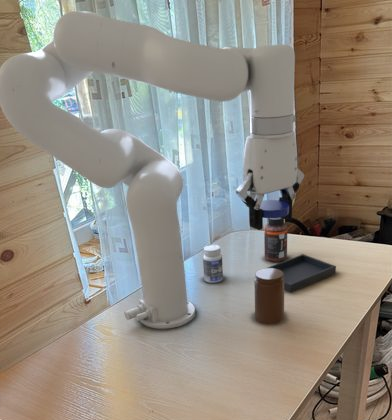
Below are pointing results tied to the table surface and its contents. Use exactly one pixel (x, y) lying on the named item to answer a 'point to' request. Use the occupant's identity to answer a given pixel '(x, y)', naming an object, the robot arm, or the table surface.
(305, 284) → the tray
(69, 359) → the table surface
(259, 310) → the jar
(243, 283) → the table surface
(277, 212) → the jar lid
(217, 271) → the pill bottle
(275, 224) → the supplement bottle
